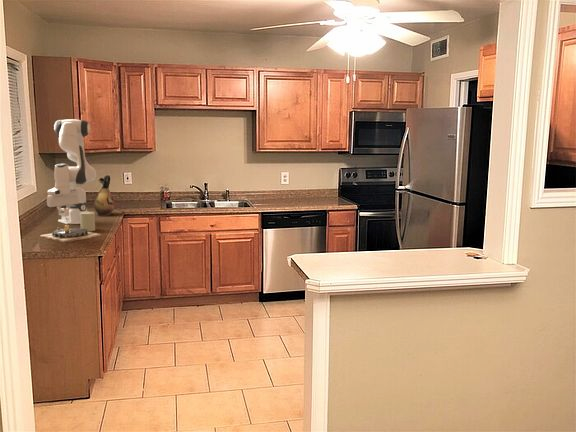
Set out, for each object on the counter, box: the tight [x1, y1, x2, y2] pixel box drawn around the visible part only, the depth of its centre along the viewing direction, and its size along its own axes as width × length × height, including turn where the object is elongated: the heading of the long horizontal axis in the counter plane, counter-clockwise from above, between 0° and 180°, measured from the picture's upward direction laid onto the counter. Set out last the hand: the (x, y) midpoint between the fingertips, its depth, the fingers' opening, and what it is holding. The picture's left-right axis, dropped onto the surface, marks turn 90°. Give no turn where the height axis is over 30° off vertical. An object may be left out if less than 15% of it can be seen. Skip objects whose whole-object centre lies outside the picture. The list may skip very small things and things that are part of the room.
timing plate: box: [38, 226, 101, 243], centre depth 332 cm, size 25×25×4 cm
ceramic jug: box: [93, 174, 116, 217], centre depth 408 cm, size 17×15×30 cm
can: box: [79, 211, 97, 232], centre depth 351 cm, size 9×9×12 cm
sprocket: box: [51, 224, 89, 238], centre depth 331 cm, size 20×20×7 cm
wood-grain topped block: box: [58, 207, 69, 217], centre depth 332 cm, size 6×3×4 cm, turn 57°
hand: (63, 212), depth 332 cm, fingers closed on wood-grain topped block, 3 cm apart
